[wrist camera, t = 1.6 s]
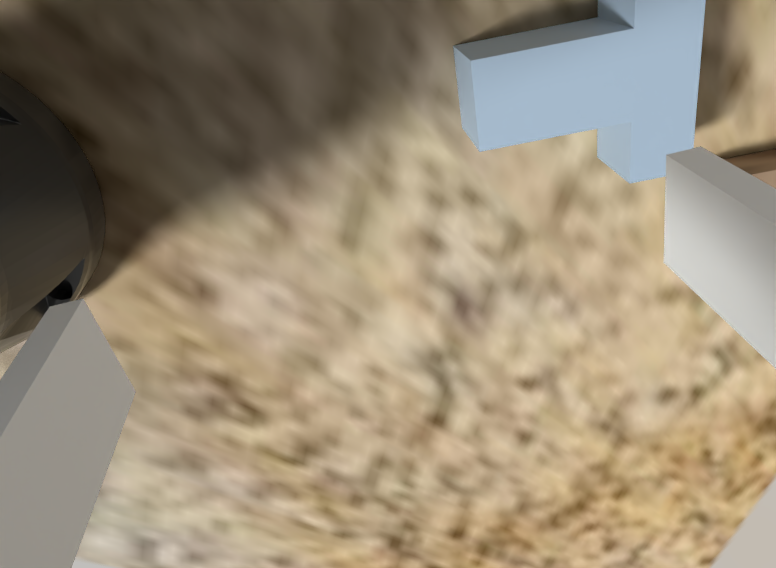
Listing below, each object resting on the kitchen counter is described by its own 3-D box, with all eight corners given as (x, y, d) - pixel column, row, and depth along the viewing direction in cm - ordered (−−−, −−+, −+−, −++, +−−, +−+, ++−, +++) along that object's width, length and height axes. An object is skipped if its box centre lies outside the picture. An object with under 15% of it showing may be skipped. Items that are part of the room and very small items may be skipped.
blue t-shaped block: (468, 182, 33) (485, 211, 29) (445, -24, 28) (463, -18, 24) (652, 146, 33) (691, 171, 29) (662, -67, 28) (711, -67, 24)
